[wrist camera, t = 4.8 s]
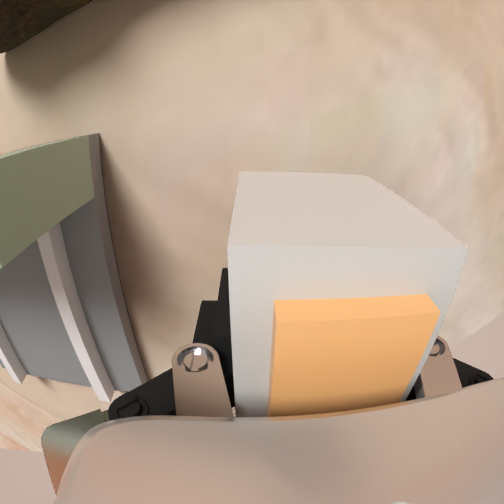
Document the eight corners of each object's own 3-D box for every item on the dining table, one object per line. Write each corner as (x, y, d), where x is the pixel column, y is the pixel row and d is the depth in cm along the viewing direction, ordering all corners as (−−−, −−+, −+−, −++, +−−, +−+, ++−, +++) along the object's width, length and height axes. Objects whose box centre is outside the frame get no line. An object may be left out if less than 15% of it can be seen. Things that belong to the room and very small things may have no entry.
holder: (366, 175, 10) (485, 261, 4) (330, 374, 15) (357, 488, 9) (239, 171, 10) (224, 265, 4) (243, 377, 14) (241, 498, 9)
